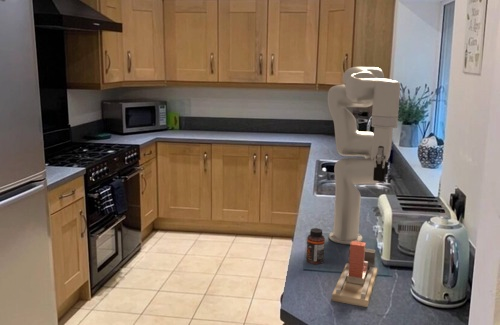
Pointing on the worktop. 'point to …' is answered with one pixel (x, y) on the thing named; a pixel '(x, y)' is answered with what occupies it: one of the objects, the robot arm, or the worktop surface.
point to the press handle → (357, 263)
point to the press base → (357, 292)
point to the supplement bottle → (315, 246)
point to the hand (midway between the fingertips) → (380, 177)
